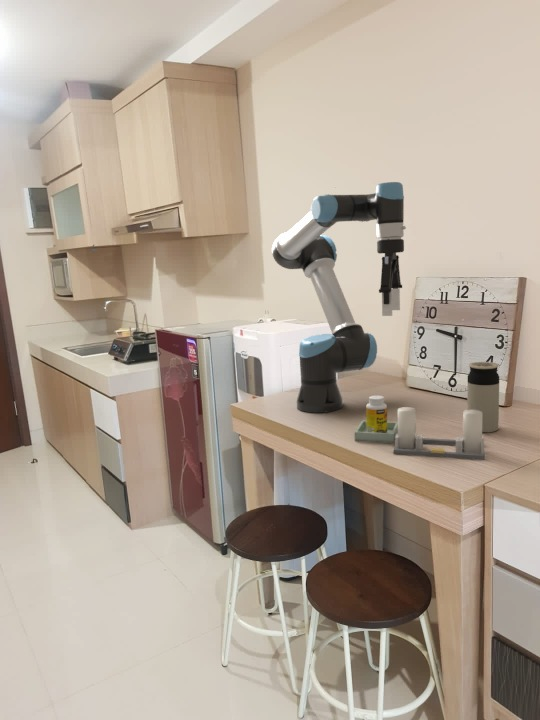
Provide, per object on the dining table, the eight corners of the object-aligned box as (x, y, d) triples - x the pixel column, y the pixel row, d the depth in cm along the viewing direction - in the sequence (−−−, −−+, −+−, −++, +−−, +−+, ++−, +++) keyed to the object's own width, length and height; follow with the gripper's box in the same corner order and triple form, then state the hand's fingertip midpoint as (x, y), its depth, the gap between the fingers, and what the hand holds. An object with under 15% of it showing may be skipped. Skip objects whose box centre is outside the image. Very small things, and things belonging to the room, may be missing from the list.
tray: (354, 441, 146) (354, 432, 145) (362, 429, 155) (361, 420, 154) (393, 443, 142) (393, 434, 142) (398, 431, 151) (398, 422, 151)
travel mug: (479, 435, 144) (480, 368, 141) (461, 426, 152) (461, 363, 149) (504, 430, 147) (506, 365, 143) (485, 422, 154) (486, 360, 151)
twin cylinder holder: (393, 453, 135) (392, 415, 133) (398, 440, 144) (397, 403, 142) (484, 460, 127) (485, 419, 126) (483, 445, 137) (484, 406, 135)
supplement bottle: (376, 438, 145) (375, 401, 143) (362, 433, 149) (361, 397, 148) (391, 433, 148) (391, 397, 146) (377, 428, 152) (376, 393, 150)
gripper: (396, 237, 143) (397, 318, 147) (409, 238, 166) (410, 307, 170) (368, 239, 146) (369, 318, 150) (385, 239, 169) (386, 308, 173)
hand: (391, 312), depth 160 cm, fingers open, 13 cm apart
